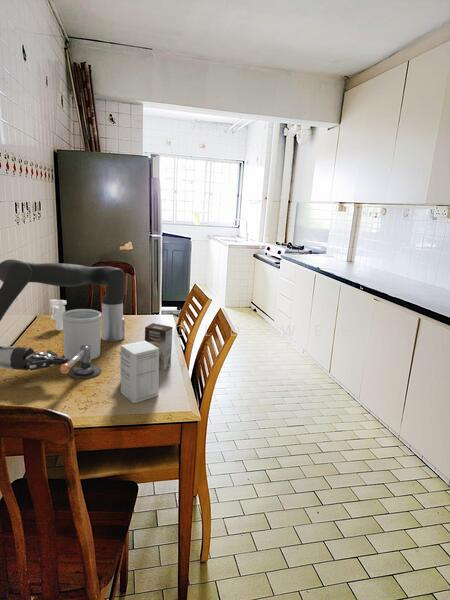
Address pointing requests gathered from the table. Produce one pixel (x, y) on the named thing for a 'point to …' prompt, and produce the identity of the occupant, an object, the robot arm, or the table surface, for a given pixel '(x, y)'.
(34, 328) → the table surface
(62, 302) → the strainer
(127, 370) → the supplement box
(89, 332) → the utensil holder
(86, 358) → the metal lever
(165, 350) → the coffee box
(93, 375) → the base plate
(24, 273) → the robot arm
